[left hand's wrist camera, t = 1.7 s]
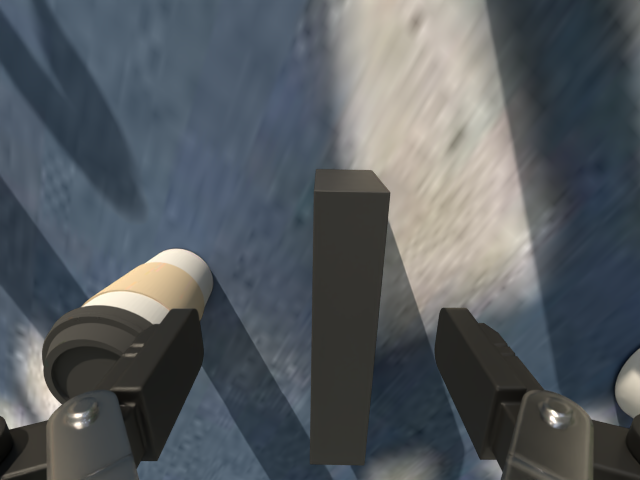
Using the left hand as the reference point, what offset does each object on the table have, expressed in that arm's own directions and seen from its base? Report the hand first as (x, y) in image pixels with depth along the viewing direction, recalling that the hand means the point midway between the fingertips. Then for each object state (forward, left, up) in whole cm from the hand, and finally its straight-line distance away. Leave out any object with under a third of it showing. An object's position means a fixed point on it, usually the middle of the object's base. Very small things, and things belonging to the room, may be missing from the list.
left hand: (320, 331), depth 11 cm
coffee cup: (+14, +10, -23) cm, 29 cm away
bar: (-2, +12, -23) cm, 26 cm away
